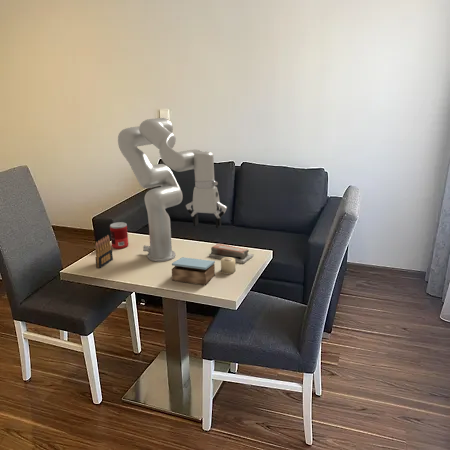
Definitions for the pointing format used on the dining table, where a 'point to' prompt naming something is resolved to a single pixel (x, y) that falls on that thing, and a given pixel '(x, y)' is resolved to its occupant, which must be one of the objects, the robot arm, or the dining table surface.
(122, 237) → the canned food
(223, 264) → the cream bottle with knob
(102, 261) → the ammunition clip
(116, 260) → the dining table surface
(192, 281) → the crate
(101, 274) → the dining table surface
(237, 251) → the packaged product
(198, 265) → the lid
